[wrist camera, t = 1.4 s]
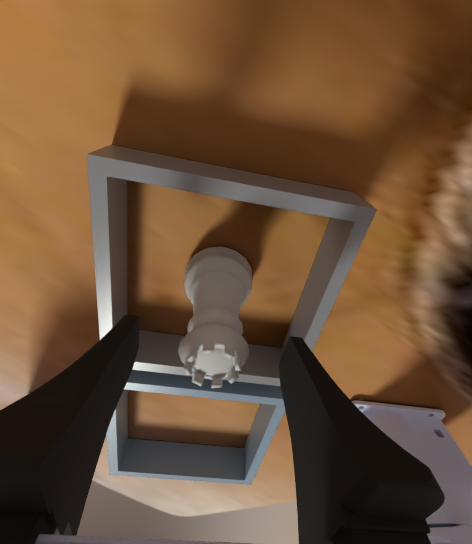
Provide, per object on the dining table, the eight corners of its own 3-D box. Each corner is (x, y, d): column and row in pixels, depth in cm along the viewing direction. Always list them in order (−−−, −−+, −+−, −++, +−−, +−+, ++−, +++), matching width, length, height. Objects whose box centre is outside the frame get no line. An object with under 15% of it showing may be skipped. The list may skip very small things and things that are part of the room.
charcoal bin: (354, 192, 17) (377, 209, 14) (288, 356, 23) (295, 387, 21) (111, 144, 15) (86, 154, 12) (116, 334, 22) (101, 366, 19)
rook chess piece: (185, 298, 20) (162, 399, 13) (185, 240, 18) (158, 327, 11) (248, 302, 20) (257, 403, 14) (256, 245, 18) (271, 333, 11)
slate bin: (283, 367, 24) (289, 399, 22) (249, 452, 31) (250, 484, 28) (117, 348, 23) (102, 379, 20) (119, 441, 29) (109, 474, 27)
